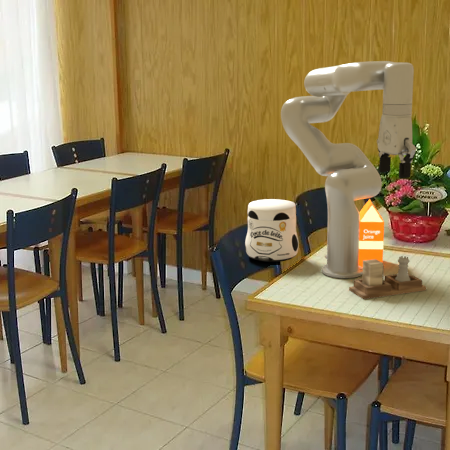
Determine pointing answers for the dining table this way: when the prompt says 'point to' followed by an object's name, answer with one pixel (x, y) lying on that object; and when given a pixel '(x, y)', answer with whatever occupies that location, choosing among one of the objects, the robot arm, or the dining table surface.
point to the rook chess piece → (403, 269)
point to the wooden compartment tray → (382, 282)
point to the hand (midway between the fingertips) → (394, 174)
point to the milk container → (271, 230)
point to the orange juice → (370, 234)
